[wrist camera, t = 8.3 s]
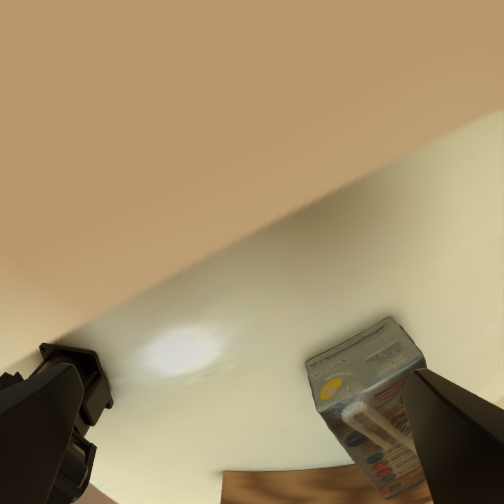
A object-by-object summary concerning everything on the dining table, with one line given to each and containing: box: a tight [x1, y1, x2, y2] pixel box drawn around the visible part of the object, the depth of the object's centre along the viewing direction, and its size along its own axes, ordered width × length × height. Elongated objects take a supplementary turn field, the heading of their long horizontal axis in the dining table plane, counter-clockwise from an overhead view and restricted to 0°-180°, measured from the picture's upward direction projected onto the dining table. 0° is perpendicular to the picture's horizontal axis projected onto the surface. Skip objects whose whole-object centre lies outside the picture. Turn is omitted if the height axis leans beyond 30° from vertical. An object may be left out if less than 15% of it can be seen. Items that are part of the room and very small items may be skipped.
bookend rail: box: [220, 464, 433, 504], centre depth 23 cm, size 26×2×8 cm, turn 90°
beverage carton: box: [305, 317, 427, 500], centre depth 20 cm, size 8×19×7 cm, turn 31°
